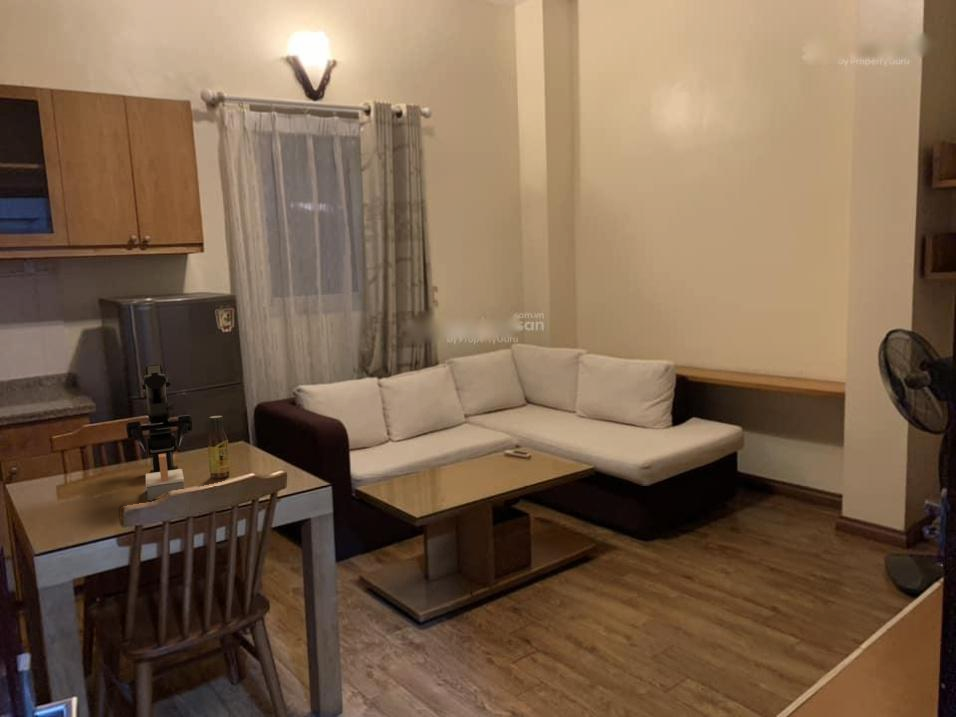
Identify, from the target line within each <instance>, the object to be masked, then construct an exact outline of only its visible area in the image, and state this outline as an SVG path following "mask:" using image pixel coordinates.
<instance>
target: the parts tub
mask: <svg viewBox="0 0 956 717" xmlns="http://www.w3.org/2000/svg"><path fill="white" fill-rule="evenodd" d="M178 489H184V490H185V485H184V481H182V482H176V483H169V484H162V485H156V486H149V487H146V490H147V491H146V494H147V501H148V500H150V501H153V500H152V499H156V498H157V497H159V496H161V495H162V494H164V493H167V492H169V491H172V490H178ZM156 500H157V499H156Z"/></svg>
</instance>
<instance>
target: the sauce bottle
mask: <svg viewBox="0 0 956 717" xmlns="http://www.w3.org/2000/svg"><path fill="white" fill-rule="evenodd" d="M223 421H224V417H223V415H213V416H209V422H210V433H209V435H208V436H207V451H208V452H207V453H208V467H209V473H210V477H211V479H222V478H227V477H229V475H230V473H231V472H230V471H231V466H230V465H231V464H230V455H229V454H230V453H229V440H228V437H227V435H226V433H225V431H224V426H223V424H224V423H223Z"/></svg>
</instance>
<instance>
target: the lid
mask: <svg viewBox="0 0 956 717" xmlns="http://www.w3.org/2000/svg"><path fill="white" fill-rule="evenodd" d="M159 464H160V472H150V473H145V487H146V488H147V487H149V486H156V485H162V484H169V483H176V482H182V481H183V482H185V478H184V472H183V469H182V468H179V469H173V470H170V471H168V470H167V460H166V453H165V454H159Z"/></svg>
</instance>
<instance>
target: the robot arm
mask: <svg viewBox="0 0 956 717" xmlns="http://www.w3.org/2000/svg"><path fill="white" fill-rule="evenodd" d="M141 383H142V390H143V392H145V395H146V396H147V397H146V400H147V409H148V410H147V412H148V413H147V414H148V421H149V422H148V423H144V424H142V423H141V420H133V421H128V422H127V423H126V424H125V425H126V435H127V438H128V439H132V440H133V441H137V442H138V443H139V444H140V446H141V447H142V449H143V451H144V453H147V448H148V455H149V456H152V460H151V461H152V468H153V469H151V470H149V472H150V473H156V472H160V464H159V454H165V453H166V460H167V470H168V471H170V470H176V468H178V467H179V466H178V465H174V456H173V453H176V452H177V451H178V448H180V445H181V443H182V440H183V439H184V436H185V435H186V434H188V433H189V432H192V430H193V419H192V416H191V415H190V414H186V415H185V414H184V415H178V416H177V420H172V421H170V413H173V412H174V404H173V400H168V399H167V389H169V387H170V386H171V381H170V380H169V379H168V371H167V370H166V369H164V368H163V367H162V364H161V363H160V364H159V363H152V364H151V363H150V364H147V365H145V369H144V370H143V371H142V373H141ZM173 428H177V432H176V433H177V434H176V435H177V436H175V434H173V433H172V429H173ZM146 431H147V432H148V437H147V445H146V441H145V437H144V434H143V432H146Z"/></svg>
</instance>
